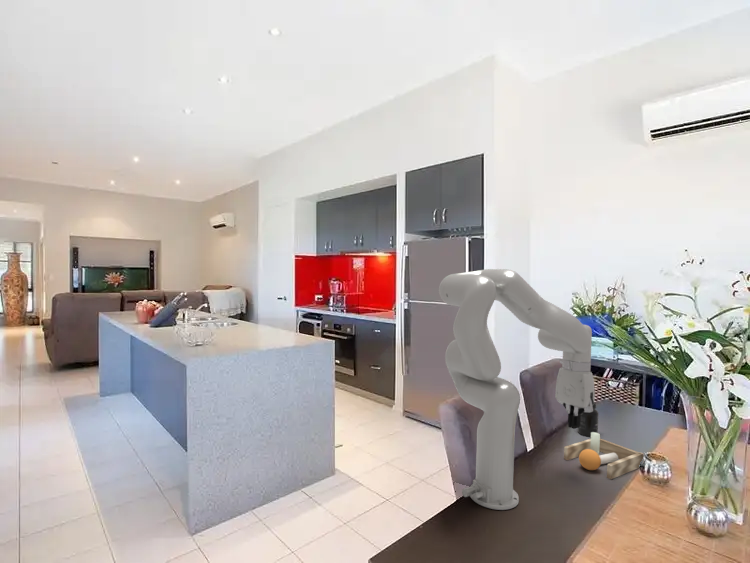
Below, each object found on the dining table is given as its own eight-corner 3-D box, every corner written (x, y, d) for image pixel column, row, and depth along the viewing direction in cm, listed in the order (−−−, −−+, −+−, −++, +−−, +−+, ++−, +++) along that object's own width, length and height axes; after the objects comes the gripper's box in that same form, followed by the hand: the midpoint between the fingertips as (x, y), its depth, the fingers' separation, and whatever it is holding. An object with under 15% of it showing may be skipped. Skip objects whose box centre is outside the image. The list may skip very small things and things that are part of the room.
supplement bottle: (600, 438, 154) (601, 405, 154) (580, 436, 156) (581, 404, 155) (594, 431, 161) (595, 400, 161) (575, 429, 162) (576, 398, 162)
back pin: (596, 462, 134) (597, 435, 134) (588, 459, 136) (589, 433, 136) (600, 460, 135) (601, 434, 135) (592, 457, 138) (593, 431, 138)
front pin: (598, 457, 132) (617, 453, 135) (591, 455, 134) (610, 452, 137) (599, 466, 131) (619, 461, 134) (592, 464, 133) (611, 460, 137)
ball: (607, 455, 128) (602, 473, 128) (589, 444, 133) (584, 462, 133) (595, 456, 125) (590, 475, 125) (577, 445, 130) (572, 464, 130)
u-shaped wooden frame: (610, 479, 123) (611, 466, 123) (563, 459, 136) (564, 446, 136) (643, 466, 132) (643, 453, 132) (596, 448, 145) (596, 436, 145)
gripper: (546, 362, 129) (544, 421, 130) (593, 372, 117) (590, 438, 117) (561, 359, 133) (559, 417, 134) (608, 370, 121) (605, 433, 121)
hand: (573, 427), depth 125 cm, fingers closed
